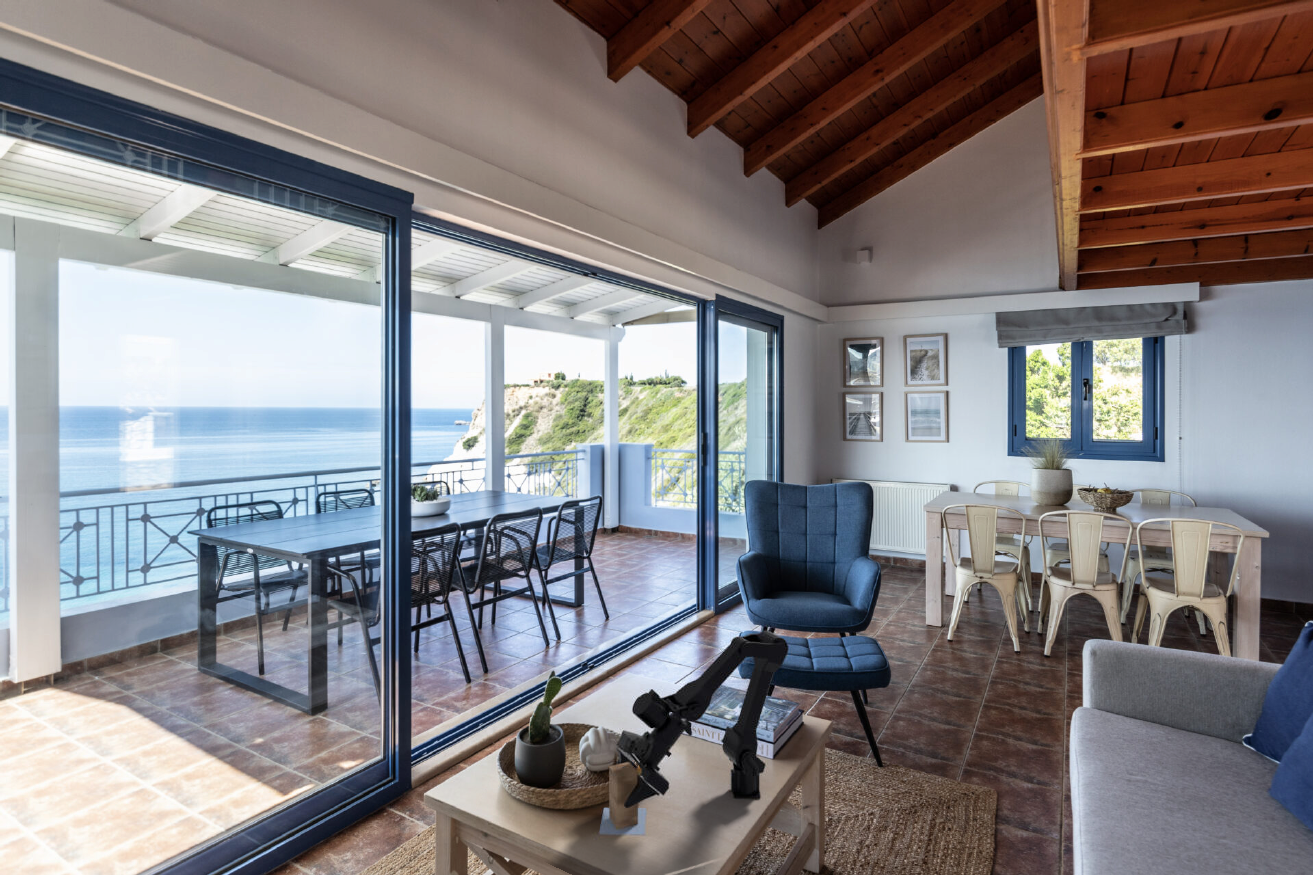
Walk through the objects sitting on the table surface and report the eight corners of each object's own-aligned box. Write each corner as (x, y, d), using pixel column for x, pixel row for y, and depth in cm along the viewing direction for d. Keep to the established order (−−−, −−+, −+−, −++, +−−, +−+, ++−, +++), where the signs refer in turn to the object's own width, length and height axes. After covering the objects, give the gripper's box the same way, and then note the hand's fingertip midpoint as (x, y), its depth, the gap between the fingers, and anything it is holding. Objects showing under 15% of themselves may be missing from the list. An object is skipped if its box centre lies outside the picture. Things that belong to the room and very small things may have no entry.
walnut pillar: (629, 812, 161) (629, 761, 160) (637, 824, 156) (637, 772, 156) (609, 817, 159) (609, 766, 158) (617, 829, 154) (617, 776, 154)
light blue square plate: (646, 810, 162) (646, 808, 162) (644, 836, 152) (644, 834, 152) (604, 809, 163) (604, 807, 163) (599, 836, 153) (599, 833, 153)
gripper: (624, 702, 167) (580, 757, 163) (656, 736, 150) (608, 798, 146) (654, 728, 170) (612, 782, 166) (688, 764, 153) (642, 825, 149)
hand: (617, 795), depth 157 cm, fingers open, 9 cm apart
